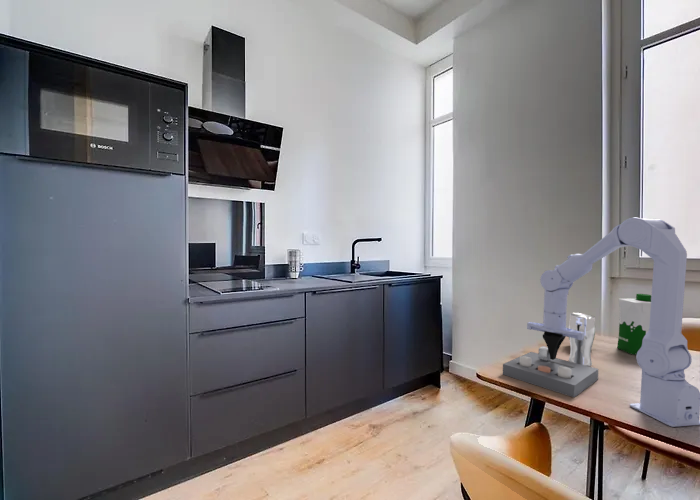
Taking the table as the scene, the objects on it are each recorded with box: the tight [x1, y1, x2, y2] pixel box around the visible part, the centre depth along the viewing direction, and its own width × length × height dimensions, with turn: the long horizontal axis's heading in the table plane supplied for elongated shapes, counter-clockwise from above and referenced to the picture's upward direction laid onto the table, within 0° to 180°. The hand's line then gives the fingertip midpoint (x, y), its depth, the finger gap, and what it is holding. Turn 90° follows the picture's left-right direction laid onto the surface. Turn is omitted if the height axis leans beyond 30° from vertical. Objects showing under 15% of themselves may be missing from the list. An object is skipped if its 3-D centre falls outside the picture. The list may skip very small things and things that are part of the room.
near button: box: [558, 366, 571, 379], centre depth 93 cm, size 3×3×3 cm
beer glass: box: [568, 312, 596, 367], centre depth 111 cm, size 7×7×15 cm
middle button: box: [538, 365, 551, 373], centre depth 97 cm, size 3×3×3 cm
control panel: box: [502, 351, 599, 398], centre depth 100 cm, size 18×18×3 cm
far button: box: [519, 355, 532, 367], centre depth 101 cm, size 3×3×3 cm
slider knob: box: [537, 345, 550, 361], centre depth 105 cm, size 2×3×3 cm
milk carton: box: [616, 293, 652, 355], centre depth 124 cm, size 9×9×20 cm
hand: (552, 358), depth 103 cm, fingers closed
